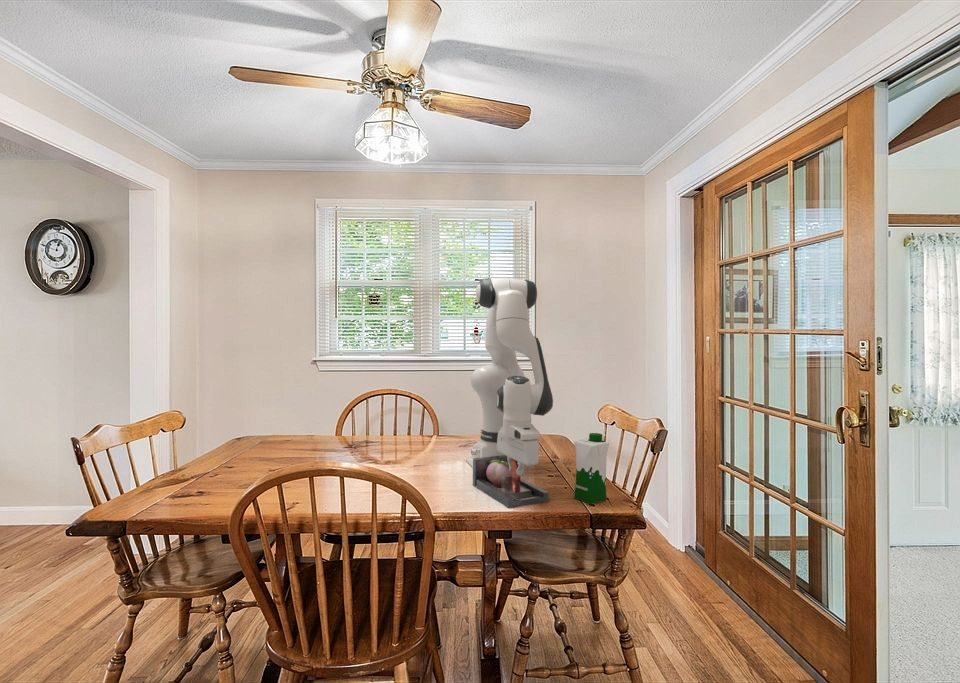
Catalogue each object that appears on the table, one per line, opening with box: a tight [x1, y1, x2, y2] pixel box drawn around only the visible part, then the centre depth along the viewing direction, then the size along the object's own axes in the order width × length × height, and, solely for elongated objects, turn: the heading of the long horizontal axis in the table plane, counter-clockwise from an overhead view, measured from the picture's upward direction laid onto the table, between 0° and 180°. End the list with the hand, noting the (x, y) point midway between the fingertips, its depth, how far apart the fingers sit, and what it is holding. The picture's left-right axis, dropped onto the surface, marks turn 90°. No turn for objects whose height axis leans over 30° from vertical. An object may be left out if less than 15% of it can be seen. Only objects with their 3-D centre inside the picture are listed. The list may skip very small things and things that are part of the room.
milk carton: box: [573, 432, 610, 505], centre depth 160 cm, size 9×9×20 cm
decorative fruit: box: [486, 458, 512, 489], centre depth 170 cm, size 9×8×10 cm
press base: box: [472, 455, 550, 509], centre depth 165 cm, size 24×14×9 cm, turn 26°
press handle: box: [499, 459, 533, 500], centre depth 163 cm, size 6×10×12 cm, turn 116°
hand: (516, 473), depth 161 cm, fingers closed on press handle, 3 cm apart
